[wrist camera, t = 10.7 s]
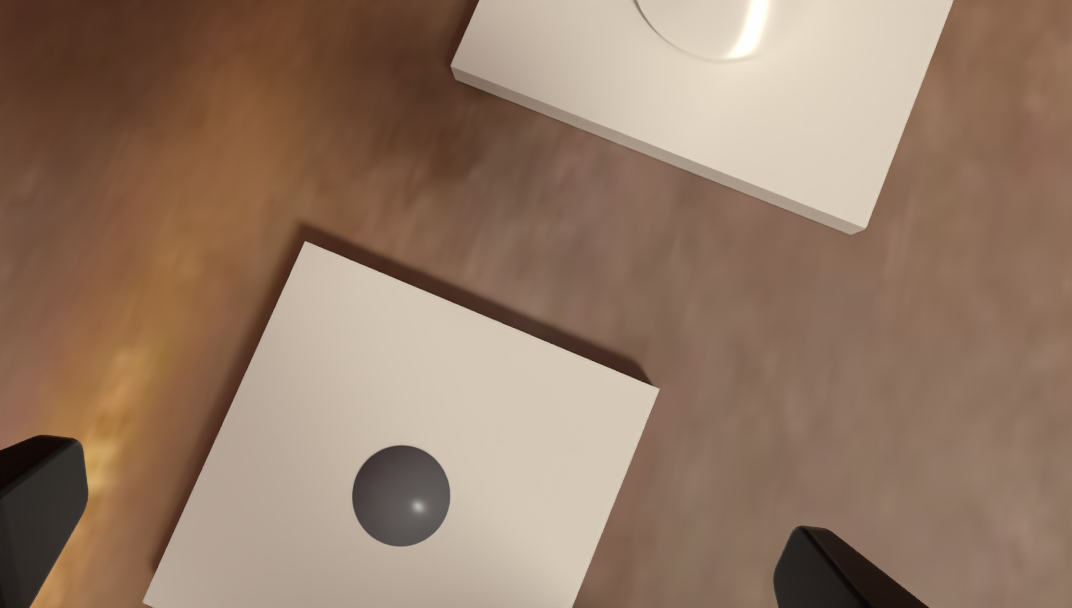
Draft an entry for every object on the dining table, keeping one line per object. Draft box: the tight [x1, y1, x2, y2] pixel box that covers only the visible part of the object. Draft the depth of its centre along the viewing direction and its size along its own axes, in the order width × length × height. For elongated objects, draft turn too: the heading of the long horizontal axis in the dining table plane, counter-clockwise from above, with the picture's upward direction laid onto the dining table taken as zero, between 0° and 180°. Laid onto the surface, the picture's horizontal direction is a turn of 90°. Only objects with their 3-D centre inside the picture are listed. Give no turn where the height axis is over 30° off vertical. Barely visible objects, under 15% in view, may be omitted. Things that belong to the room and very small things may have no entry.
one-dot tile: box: [143, 241, 659, 608], centre depth 20 cm, size 12×12×1 cm
